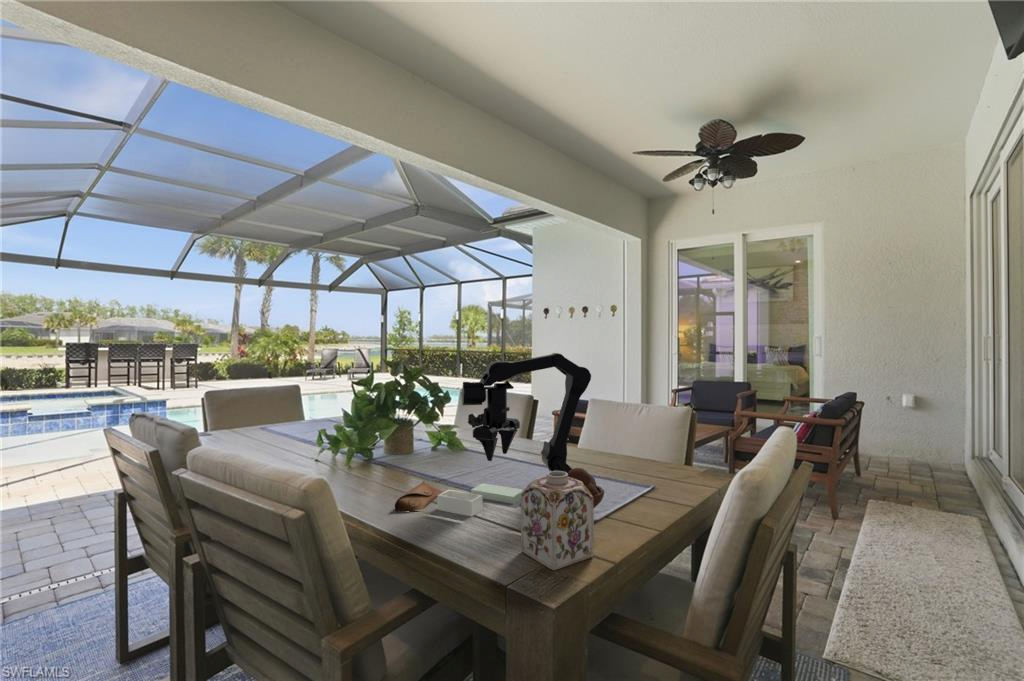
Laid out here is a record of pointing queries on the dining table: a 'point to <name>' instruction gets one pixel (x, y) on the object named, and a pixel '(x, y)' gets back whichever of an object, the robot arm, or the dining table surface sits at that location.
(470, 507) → the white rectangular box
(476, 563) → the dining table surface
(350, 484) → the dining table surface
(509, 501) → the sage lid
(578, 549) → the decorative jar
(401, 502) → the sunglasses case
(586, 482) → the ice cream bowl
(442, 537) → the dining table surface
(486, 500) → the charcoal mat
